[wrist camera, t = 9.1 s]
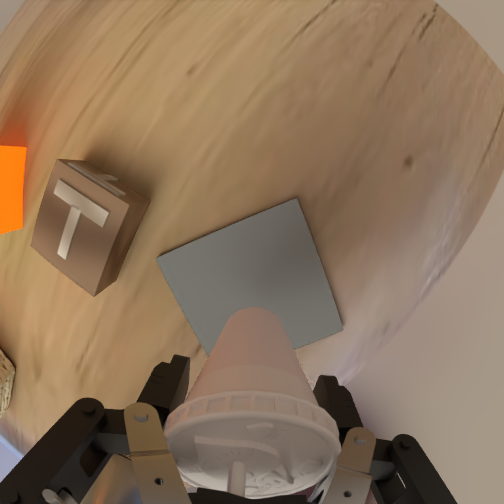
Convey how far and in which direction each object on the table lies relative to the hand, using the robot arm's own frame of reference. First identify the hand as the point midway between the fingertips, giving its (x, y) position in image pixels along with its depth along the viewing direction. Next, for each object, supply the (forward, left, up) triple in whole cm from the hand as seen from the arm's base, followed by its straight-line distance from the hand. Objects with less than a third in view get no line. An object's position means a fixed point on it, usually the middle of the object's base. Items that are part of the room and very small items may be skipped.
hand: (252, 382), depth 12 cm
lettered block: (+11, +10, -11) cm, 19 cm away
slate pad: (0, 0, -11) cm, 11 cm away
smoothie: (0, 0, -5) cm, 5 cm away
